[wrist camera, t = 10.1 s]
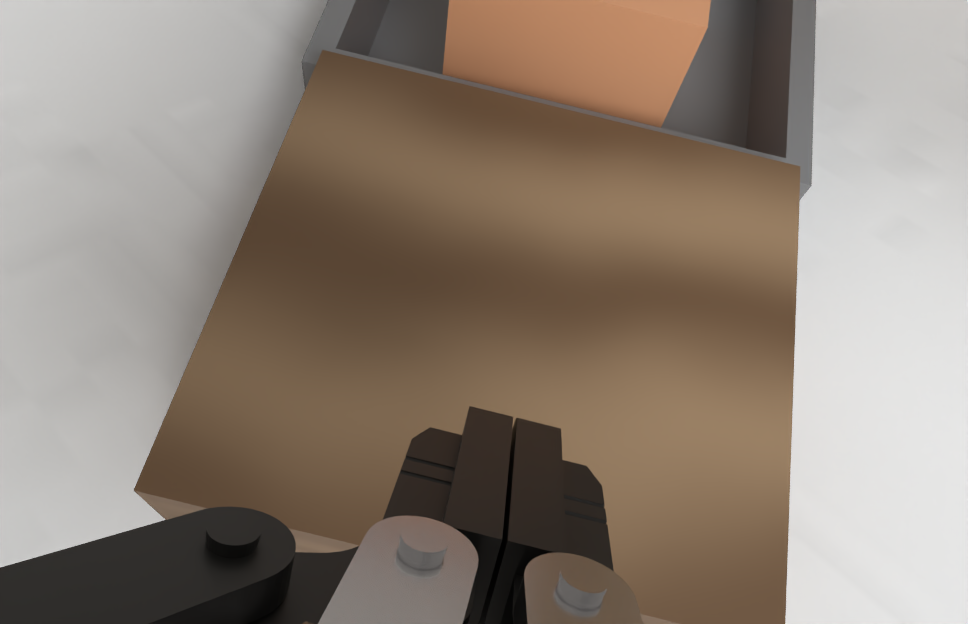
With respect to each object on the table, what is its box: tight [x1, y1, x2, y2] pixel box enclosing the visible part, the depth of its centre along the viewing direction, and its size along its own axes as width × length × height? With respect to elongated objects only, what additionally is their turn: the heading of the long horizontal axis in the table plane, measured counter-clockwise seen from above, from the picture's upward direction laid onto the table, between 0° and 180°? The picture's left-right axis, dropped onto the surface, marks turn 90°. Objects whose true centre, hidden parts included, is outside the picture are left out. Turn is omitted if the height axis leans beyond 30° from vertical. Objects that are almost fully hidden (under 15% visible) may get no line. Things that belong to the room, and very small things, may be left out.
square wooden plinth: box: [134, 50, 800, 624], centre depth 22 cm, size 13×14×5 cm
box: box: [302, 0, 816, 200], centre depth 29 cm, size 15×16×4 cm
